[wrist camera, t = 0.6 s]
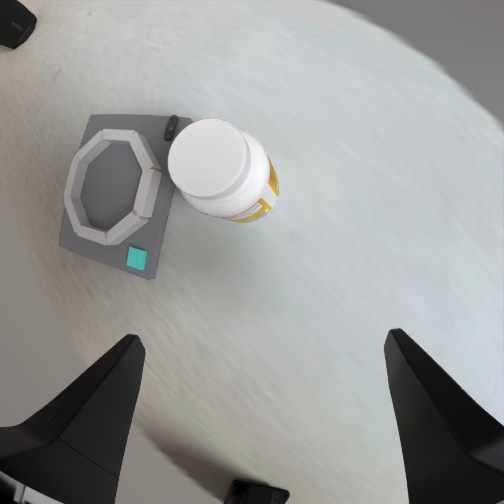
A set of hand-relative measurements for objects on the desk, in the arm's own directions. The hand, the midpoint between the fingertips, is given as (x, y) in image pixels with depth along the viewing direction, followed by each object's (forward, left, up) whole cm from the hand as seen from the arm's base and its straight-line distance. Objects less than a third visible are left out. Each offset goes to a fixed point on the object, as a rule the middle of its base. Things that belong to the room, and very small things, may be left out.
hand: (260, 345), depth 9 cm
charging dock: (+4, +17, -13) cm, 22 cm away
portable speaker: (+32, +58, -13) cm, 68 cm away
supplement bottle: (+6, +5, -13) cm, 16 cm away
